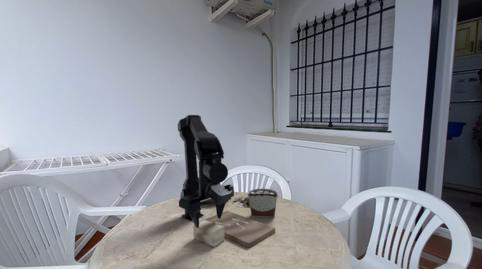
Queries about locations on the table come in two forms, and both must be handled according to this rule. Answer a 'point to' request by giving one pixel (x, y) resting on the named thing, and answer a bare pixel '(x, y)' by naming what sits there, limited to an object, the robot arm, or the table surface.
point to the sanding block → (209, 233)
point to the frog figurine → (241, 201)
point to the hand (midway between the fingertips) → (208, 222)
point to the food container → (262, 202)
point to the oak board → (242, 228)
